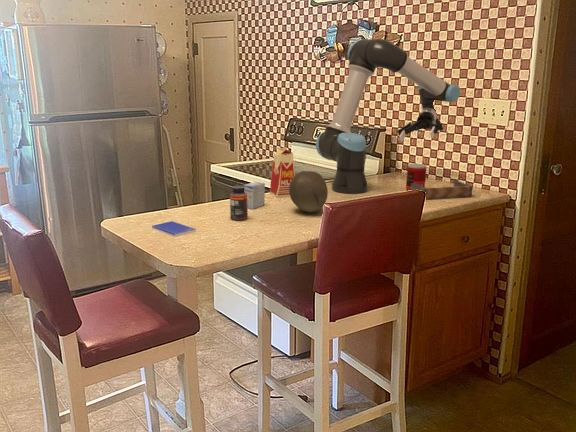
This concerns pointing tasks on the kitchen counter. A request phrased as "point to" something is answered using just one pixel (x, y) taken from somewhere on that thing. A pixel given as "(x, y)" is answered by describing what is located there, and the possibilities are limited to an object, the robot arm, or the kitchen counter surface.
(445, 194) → the rail board
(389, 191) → the kitchen counter surface
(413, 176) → the canned food
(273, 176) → the milk carton
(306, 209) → the dark grey round ball
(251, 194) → the medicine box
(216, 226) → the kitchen counter surface
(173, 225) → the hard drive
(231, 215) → the supplement bottle
